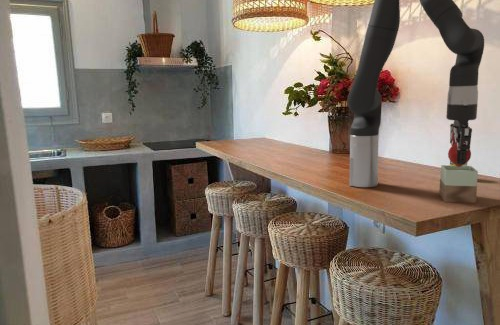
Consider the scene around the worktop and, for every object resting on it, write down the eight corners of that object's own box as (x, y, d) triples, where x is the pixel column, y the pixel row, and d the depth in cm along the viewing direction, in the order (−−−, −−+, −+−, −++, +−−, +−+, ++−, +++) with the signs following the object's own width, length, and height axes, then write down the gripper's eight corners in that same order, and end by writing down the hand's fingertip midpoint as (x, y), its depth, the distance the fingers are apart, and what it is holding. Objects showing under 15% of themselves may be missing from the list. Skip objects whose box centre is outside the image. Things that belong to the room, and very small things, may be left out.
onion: (450, 164, 118) (451, 137, 116) (471, 166, 114) (473, 138, 113) (445, 167, 114) (446, 140, 112) (467, 169, 110) (469, 141, 108)
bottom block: (444, 202, 113) (445, 185, 112) (439, 194, 120) (440, 178, 120) (475, 203, 111) (477, 186, 110) (468, 195, 118) (469, 179, 117)
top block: (445, 185, 112) (445, 170, 111) (440, 178, 120) (441, 165, 119) (476, 186, 110) (477, 171, 109) (470, 179, 117) (471, 165, 116)
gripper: (442, 101, 118) (439, 157, 121) (453, 104, 105) (449, 166, 108) (470, 101, 116) (466, 157, 120) (485, 103, 103) (480, 166, 106)
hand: (458, 161), depth 114 cm, fingers closed on onion, 5 cm apart
